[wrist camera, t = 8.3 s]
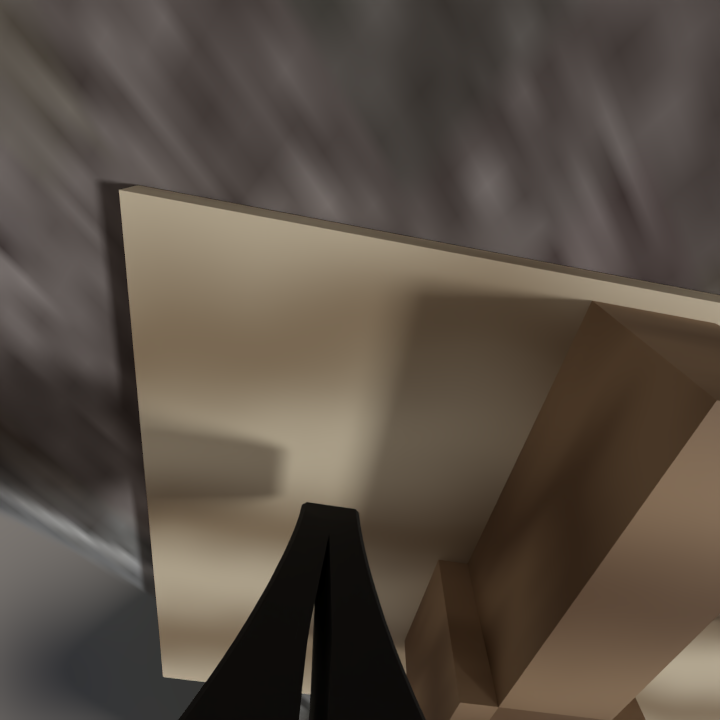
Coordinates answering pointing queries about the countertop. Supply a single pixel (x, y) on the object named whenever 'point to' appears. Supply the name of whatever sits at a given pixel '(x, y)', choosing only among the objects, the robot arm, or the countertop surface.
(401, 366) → the board
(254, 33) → the countertop surface
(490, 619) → the link
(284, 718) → the robot arm
